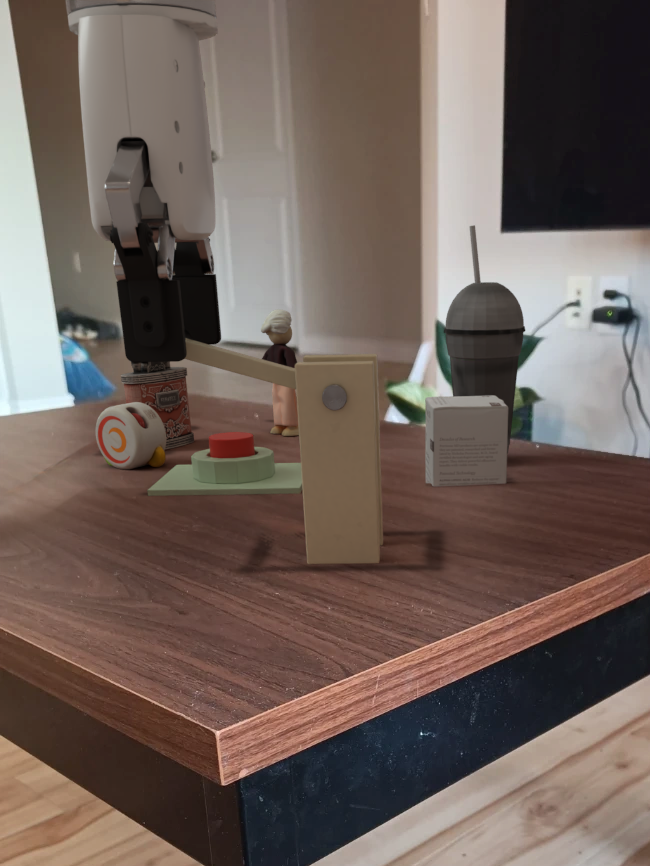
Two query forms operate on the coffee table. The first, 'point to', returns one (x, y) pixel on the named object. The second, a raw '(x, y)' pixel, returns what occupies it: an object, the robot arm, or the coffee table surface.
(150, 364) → the lighter
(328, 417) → the lever bracket
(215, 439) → the button
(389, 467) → the coffee table surface
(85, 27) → the robot arm
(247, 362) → the lever
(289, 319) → the grandmother figurine
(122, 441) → the roller toy
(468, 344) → the beverage cup
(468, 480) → the product carton
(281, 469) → the button block
